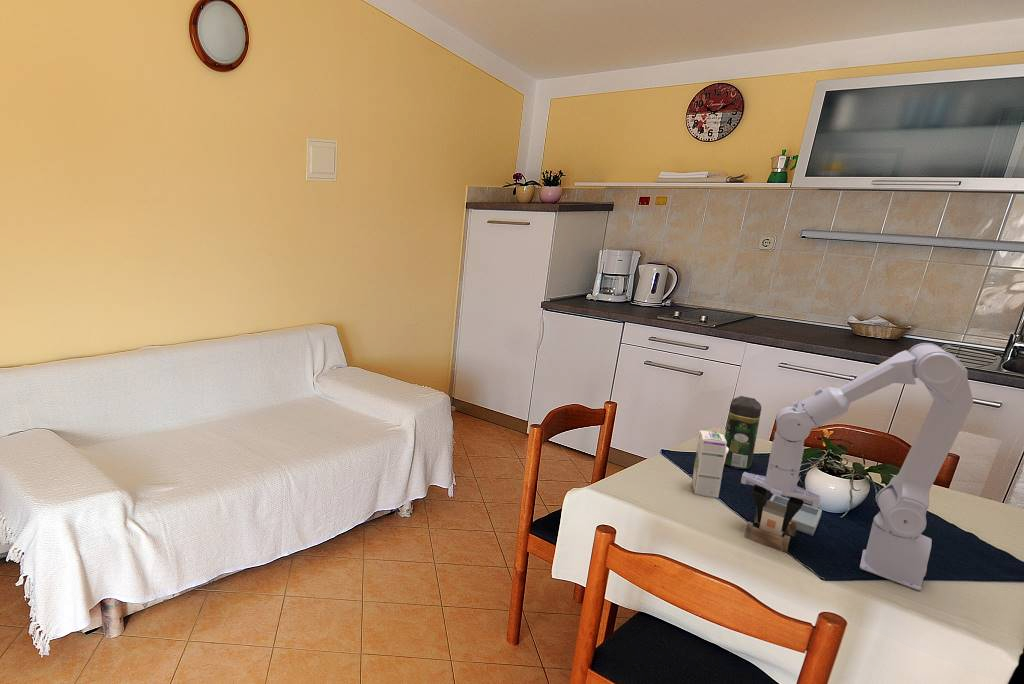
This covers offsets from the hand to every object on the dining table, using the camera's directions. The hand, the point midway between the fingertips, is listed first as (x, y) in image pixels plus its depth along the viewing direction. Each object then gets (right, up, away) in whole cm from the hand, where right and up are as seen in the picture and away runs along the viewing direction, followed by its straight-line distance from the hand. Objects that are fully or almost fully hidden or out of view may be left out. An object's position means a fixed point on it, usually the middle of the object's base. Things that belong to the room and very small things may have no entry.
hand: (772, 525), depth 111 cm
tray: (+9, -1, +9) cm, 12 cm away
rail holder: (0, -2, +1) cm, 3 cm away
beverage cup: (-4, +3, +25) cm, 26 cm away
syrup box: (-8, +2, +18) cm, 20 cm away
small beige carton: (0, -2, 0) cm, 2 cm away
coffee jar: (+8, +5, +37) cm, 38 cm away
